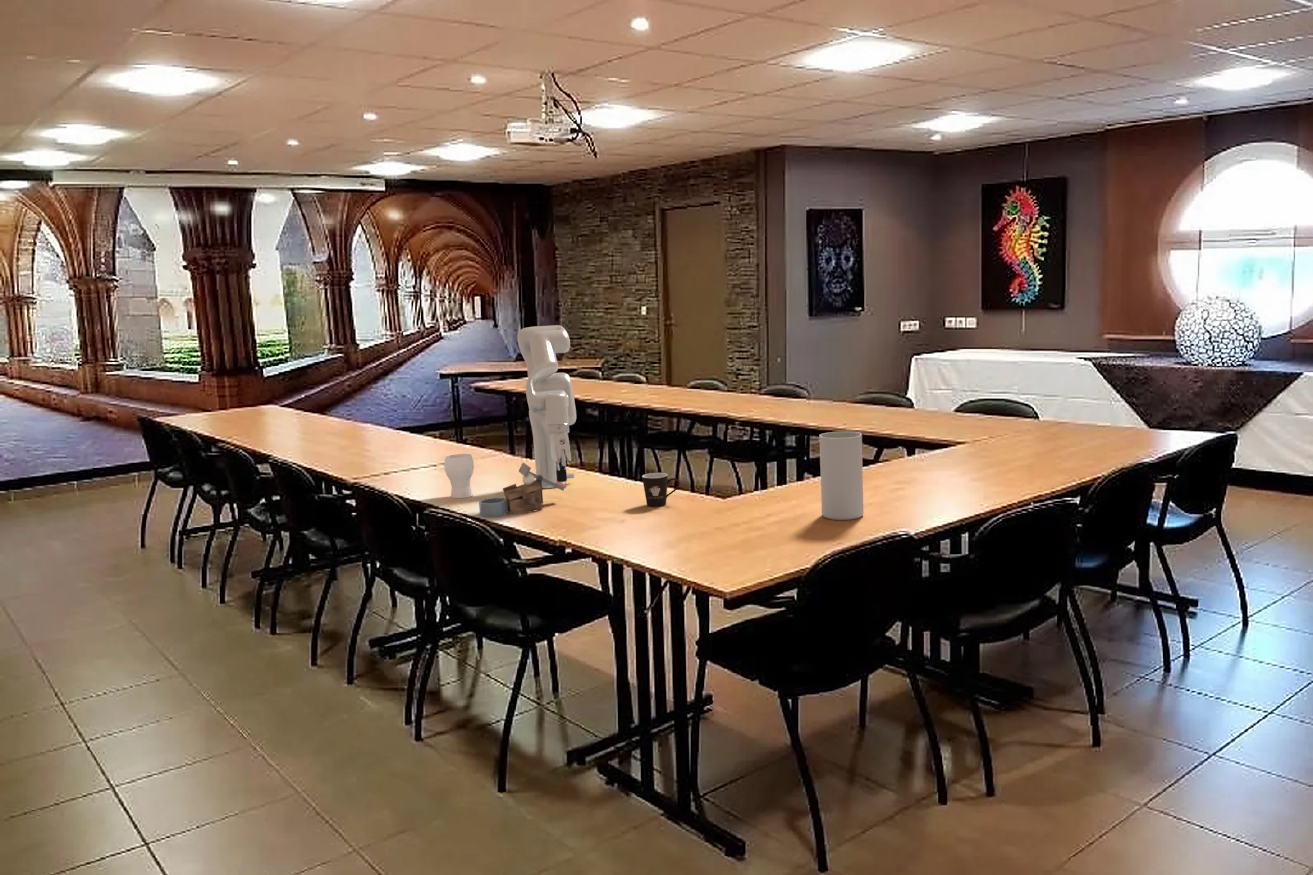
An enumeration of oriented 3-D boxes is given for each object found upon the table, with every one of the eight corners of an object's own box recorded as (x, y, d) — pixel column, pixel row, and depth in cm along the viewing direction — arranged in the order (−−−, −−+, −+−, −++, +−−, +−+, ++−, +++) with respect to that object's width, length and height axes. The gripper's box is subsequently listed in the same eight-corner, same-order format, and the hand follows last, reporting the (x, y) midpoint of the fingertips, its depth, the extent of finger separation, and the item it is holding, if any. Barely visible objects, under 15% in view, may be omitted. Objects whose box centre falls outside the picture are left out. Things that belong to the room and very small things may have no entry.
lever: (561, 490, 344) (565, 482, 344) (569, 496, 333) (573, 487, 333) (517, 470, 338) (522, 462, 338) (524, 476, 327) (528, 467, 327)
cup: (469, 499, 355) (466, 458, 353) (442, 499, 357) (438, 458, 355) (480, 492, 365) (477, 453, 363) (454, 493, 368) (450, 453, 365)
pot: (504, 509, 335) (503, 496, 334) (509, 514, 327) (508, 501, 326) (478, 512, 332) (477, 499, 331) (483, 518, 324) (481, 504, 323)
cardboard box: (542, 502, 343) (540, 474, 341) (550, 509, 332) (548, 480, 330) (501, 507, 338) (499, 479, 337) (508, 514, 327) (506, 485, 326)
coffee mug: (639, 507, 327) (637, 477, 326) (651, 501, 335) (649, 472, 333) (670, 509, 322) (668, 479, 320) (681, 503, 329) (680, 473, 328)
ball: (534, 481, 335) (530, 470, 334) (537, 483, 331) (533, 472, 330) (523, 485, 334) (519, 474, 333) (525, 487, 330) (522, 476, 329)
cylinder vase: (860, 521, 292) (858, 438, 288) (818, 520, 296) (815, 438, 293) (866, 511, 304) (864, 431, 300) (826, 510, 308) (823, 431, 304)
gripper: (574, 430, 333) (578, 483, 335) (563, 425, 347) (567, 476, 350) (552, 432, 330) (556, 486, 333) (542, 427, 345) (546, 479, 347)
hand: (561, 481), depth 341 cm, fingers closed
